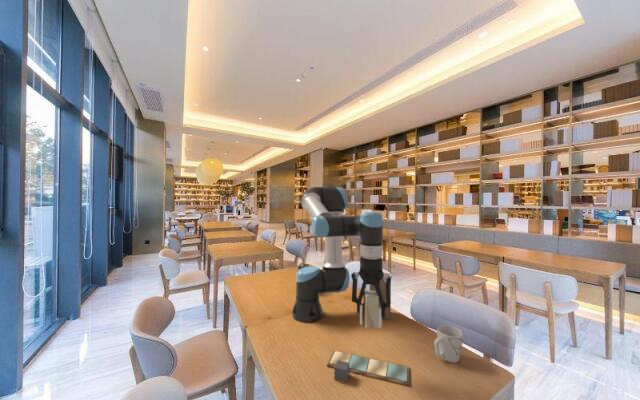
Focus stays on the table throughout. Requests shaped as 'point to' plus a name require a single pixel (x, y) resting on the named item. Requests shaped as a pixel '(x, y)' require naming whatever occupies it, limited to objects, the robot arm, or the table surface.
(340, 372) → the cube
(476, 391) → the table surface
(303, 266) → the coffee box
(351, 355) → the track
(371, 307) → the box
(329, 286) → the robot arm
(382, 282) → the wooden block
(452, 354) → the mug
